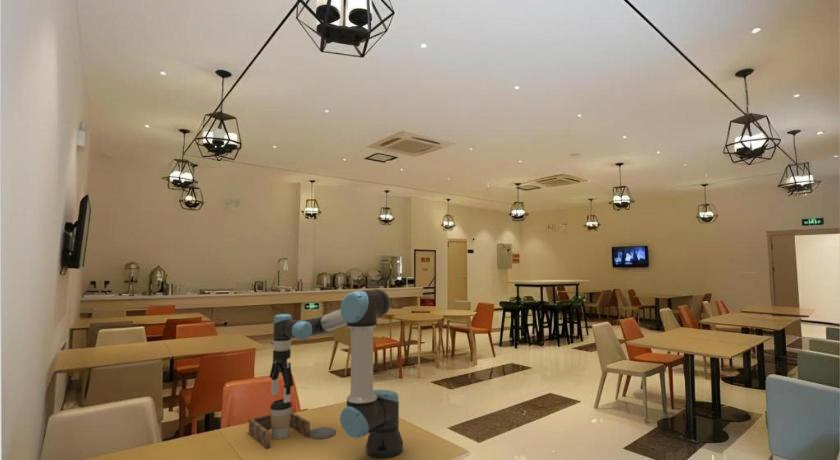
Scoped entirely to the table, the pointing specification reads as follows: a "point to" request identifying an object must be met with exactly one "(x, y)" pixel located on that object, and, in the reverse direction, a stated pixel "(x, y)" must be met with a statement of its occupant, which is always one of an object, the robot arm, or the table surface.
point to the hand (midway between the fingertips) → (280, 398)
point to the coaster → (322, 433)
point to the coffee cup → (280, 419)
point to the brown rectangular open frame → (262, 424)
